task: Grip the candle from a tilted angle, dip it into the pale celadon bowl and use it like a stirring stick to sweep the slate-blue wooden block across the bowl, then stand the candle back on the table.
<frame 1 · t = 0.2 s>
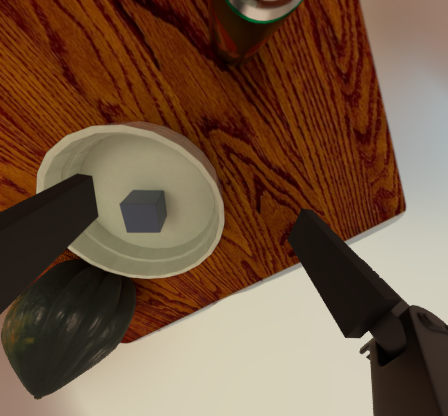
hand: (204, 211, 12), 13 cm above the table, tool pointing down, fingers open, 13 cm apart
soda can: (235, 34, 17), on the table
bowl: (152, 198, 25), on the table
block: (150, 203, 24), point 1 cm above the table, touching bowl
squash: (102, 278, 32), on the table
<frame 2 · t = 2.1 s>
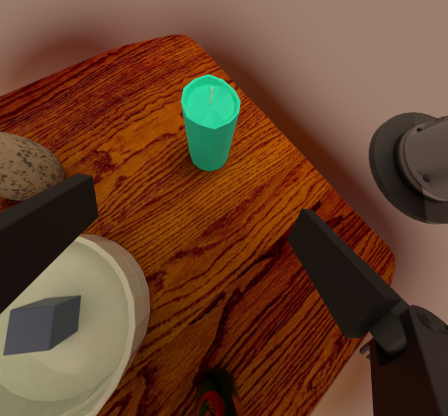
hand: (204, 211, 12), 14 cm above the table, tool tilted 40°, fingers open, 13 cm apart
soda can: (216, 388, 22), on the table
bowl: (69, 312, 22), on the table
candle: (209, 154, 28), on the table
decorative egg: (52, 182, 25), on the table
block: (61, 314, 21), point 1 cm above the table, touching bowl
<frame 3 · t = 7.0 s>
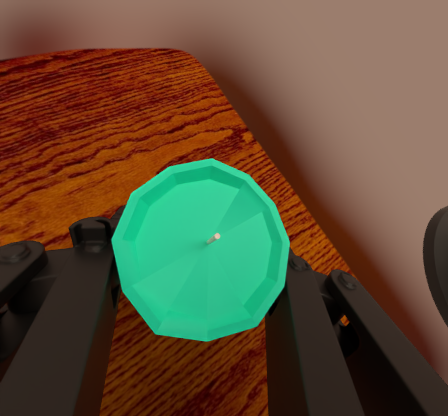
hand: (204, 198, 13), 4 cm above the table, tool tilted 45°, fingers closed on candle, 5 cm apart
candle: (195, 250, 16), on the table, touching gripper
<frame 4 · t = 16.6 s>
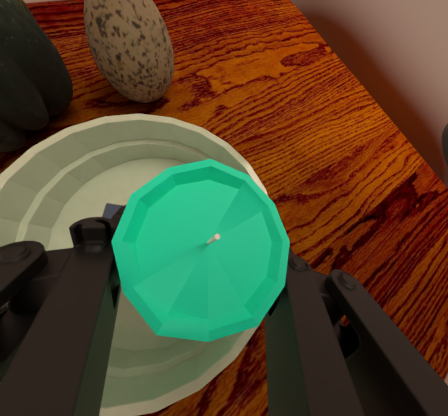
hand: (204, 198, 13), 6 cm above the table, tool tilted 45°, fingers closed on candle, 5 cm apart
bowl: (158, 241, 17), on the table
candle: (195, 251, 16), point 2 cm above the table, touching block, gripper
decorative egg: (145, 94, 21), on the table
squash: (2, 115, 17), on the table
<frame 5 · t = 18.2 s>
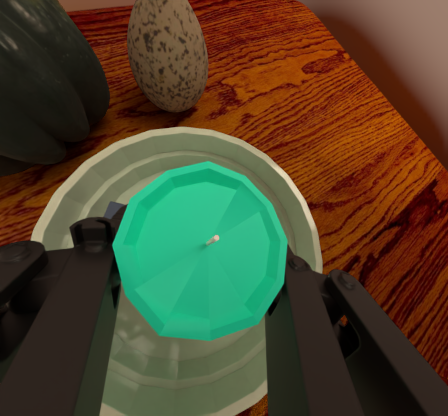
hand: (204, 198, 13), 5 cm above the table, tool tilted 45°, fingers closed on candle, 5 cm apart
bowl: (193, 250, 17), on the table
candle: (195, 252, 16), point 1 cm above the table, touching block, gripper
decorative egg: (173, 103, 21), on the table
squash: (38, 125, 18), on the table
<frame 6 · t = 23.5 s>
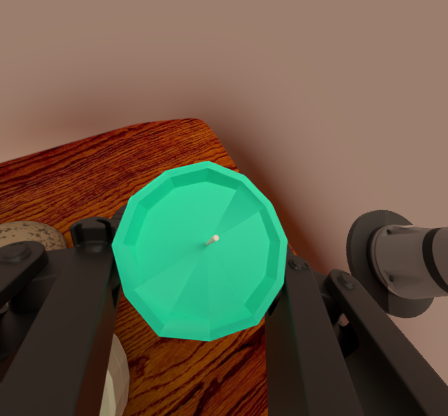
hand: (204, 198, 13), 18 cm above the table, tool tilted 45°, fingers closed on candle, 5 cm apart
bowl: (43, 399, 21), on the table
candle: (195, 252, 16), point 14 cm above the table, touching gripper
decorative egg: (51, 252, 26), on the table
when the fingers open (4 cm above the table, at t = 28.1 s): candle stays where it is, on the table.
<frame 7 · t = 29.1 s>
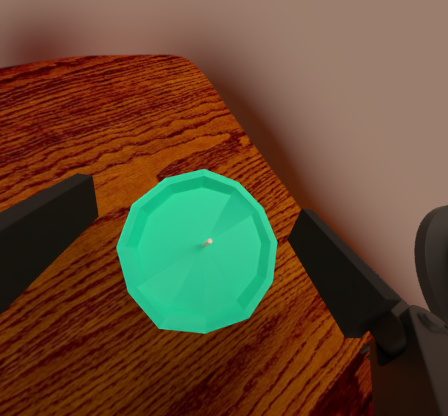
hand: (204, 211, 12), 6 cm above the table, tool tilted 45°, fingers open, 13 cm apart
candle: (193, 251, 17), on the table
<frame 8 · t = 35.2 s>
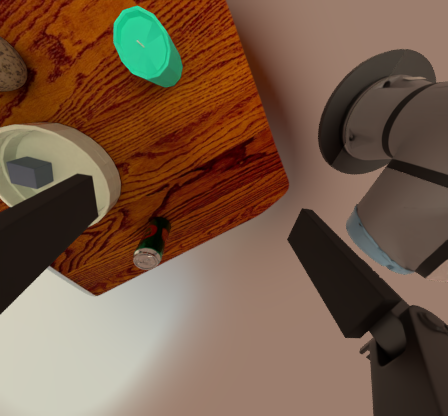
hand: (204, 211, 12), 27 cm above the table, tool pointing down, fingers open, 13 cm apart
soda can: (160, 224, 44), on the table
bowl: (71, 174, 36), on the table
candle: (163, 65, 29), on the table
decorative egg: (15, 65, 27), on the table
block: (40, 169, 34), point 1 cm above the table, touching bowl
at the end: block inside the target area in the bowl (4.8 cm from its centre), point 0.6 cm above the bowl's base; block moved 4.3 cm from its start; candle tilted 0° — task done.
